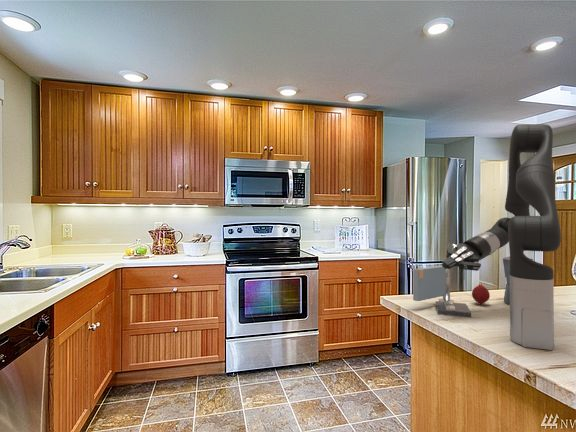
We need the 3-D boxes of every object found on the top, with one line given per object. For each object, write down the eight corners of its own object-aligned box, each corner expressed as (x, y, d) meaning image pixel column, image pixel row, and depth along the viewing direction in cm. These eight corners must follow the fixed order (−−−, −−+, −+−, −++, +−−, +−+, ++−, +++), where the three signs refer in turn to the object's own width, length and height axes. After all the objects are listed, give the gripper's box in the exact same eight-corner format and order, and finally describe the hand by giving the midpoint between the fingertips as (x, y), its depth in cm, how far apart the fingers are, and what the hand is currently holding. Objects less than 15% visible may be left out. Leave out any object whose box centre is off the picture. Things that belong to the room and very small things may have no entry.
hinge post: (454, 305, 120) (454, 262, 120) (439, 304, 122) (439, 262, 122) (452, 302, 125) (452, 261, 125) (438, 301, 127) (438, 260, 127)
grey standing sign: (418, 301, 113) (418, 270, 113) (412, 299, 115) (412, 269, 115) (446, 295, 121) (446, 266, 121) (440, 294, 124) (439, 265, 124)
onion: (492, 306, 119) (492, 285, 119) (475, 306, 120) (475, 284, 120) (486, 302, 124) (486, 282, 124) (469, 302, 125) (469, 281, 126)
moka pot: (508, 307, 117) (508, 252, 117) (496, 297, 132) (496, 248, 132) (540, 310, 114) (539, 253, 114) (524, 299, 129) (523, 249, 129)
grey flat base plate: (471, 317, 106) (471, 310, 106) (438, 314, 110) (438, 307, 110) (465, 307, 118) (465, 301, 118) (435, 305, 121) (435, 299, 121)
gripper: (468, 226, 112) (431, 245, 107) (503, 251, 103) (465, 272, 98) (461, 241, 117) (426, 259, 112) (494, 266, 108) (457, 287, 103)
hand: (444, 265), depth 105 cm, fingers closed
